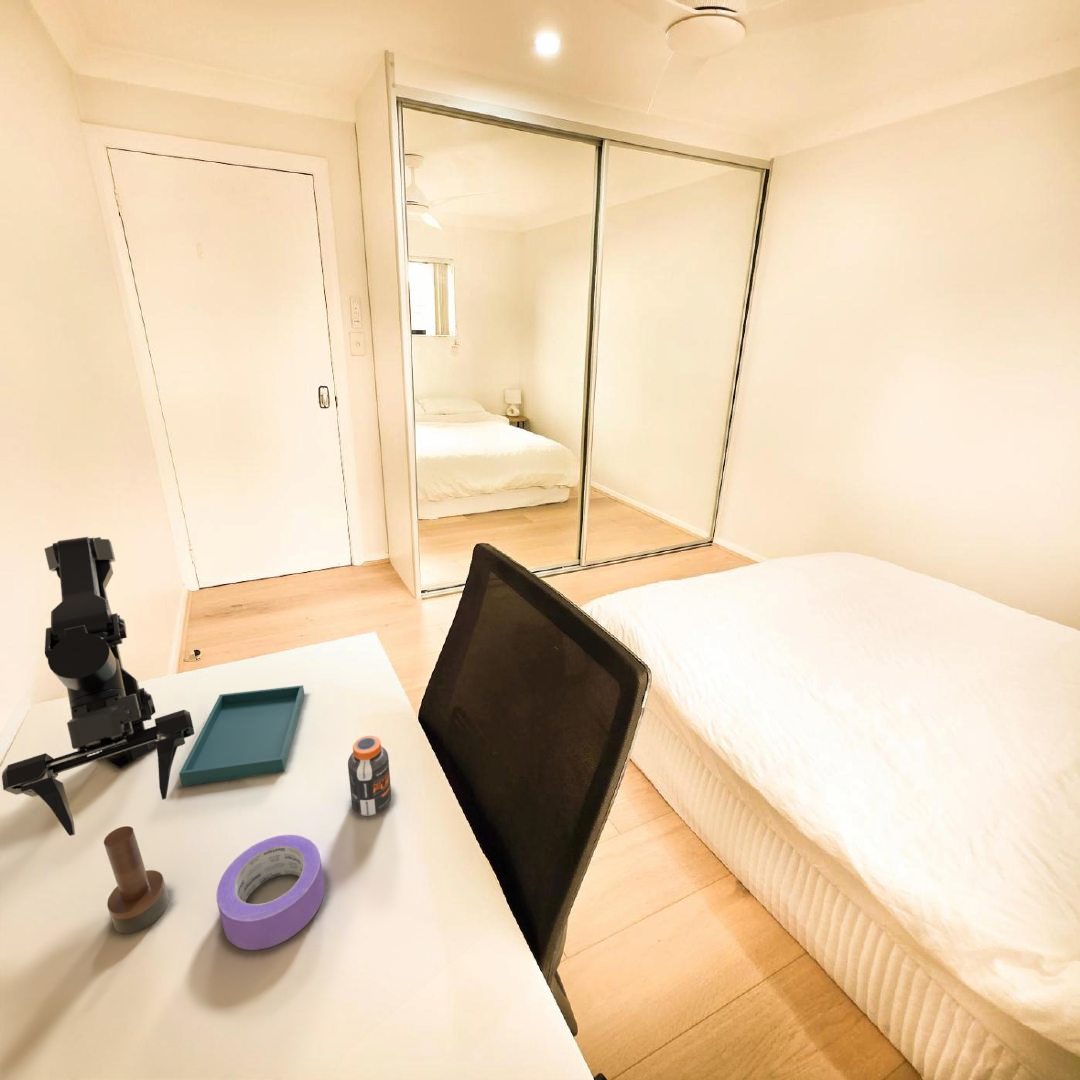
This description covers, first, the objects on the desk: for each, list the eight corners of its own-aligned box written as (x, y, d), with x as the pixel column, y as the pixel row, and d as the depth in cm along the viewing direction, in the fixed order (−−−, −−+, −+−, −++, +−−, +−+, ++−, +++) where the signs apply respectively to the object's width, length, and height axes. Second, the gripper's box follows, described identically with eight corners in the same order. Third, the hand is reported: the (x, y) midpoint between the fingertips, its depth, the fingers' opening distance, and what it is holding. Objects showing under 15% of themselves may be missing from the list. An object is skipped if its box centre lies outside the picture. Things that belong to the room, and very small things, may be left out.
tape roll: (212, 897, 68) (205, 869, 67) (305, 845, 76) (301, 818, 74) (238, 973, 60) (231, 943, 59) (339, 906, 68) (335, 878, 66)
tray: (284, 771, 89) (282, 759, 88) (182, 786, 85) (178, 773, 84) (304, 695, 108) (303, 685, 107) (222, 705, 105) (219, 694, 104)
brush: (103, 921, 65) (77, 845, 61) (151, 882, 70) (129, 809, 66) (131, 942, 63) (106, 864, 59) (178, 900, 68) (158, 826, 64)
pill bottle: (380, 820, 80) (374, 760, 76) (344, 813, 81) (337, 754, 78) (398, 790, 86) (393, 733, 82) (364, 784, 87) (358, 727, 83)
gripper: (-22, 710, 59) (-5, 854, 55) (177, 658, 70) (204, 774, 66) (9, 730, 68) (25, 856, 63) (182, 680, 79) (206, 785, 74)
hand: (120, 816), depth 66 cm, fingers open, 9 cm apart
